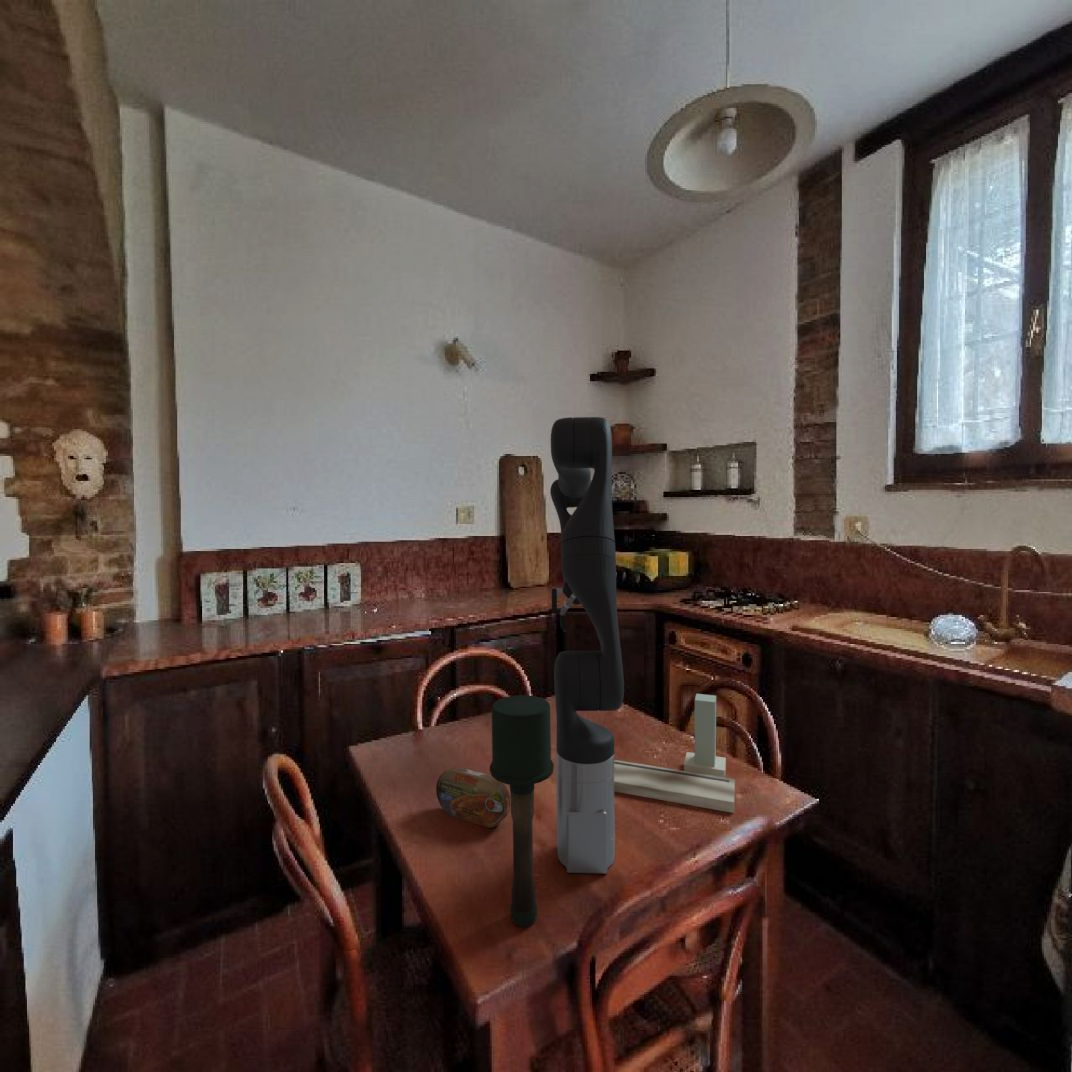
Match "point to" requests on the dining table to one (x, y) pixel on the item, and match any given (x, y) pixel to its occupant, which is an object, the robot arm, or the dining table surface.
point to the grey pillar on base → (705, 740)
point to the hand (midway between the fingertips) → (583, 629)
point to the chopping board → (675, 785)
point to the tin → (473, 796)
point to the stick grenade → (522, 784)
